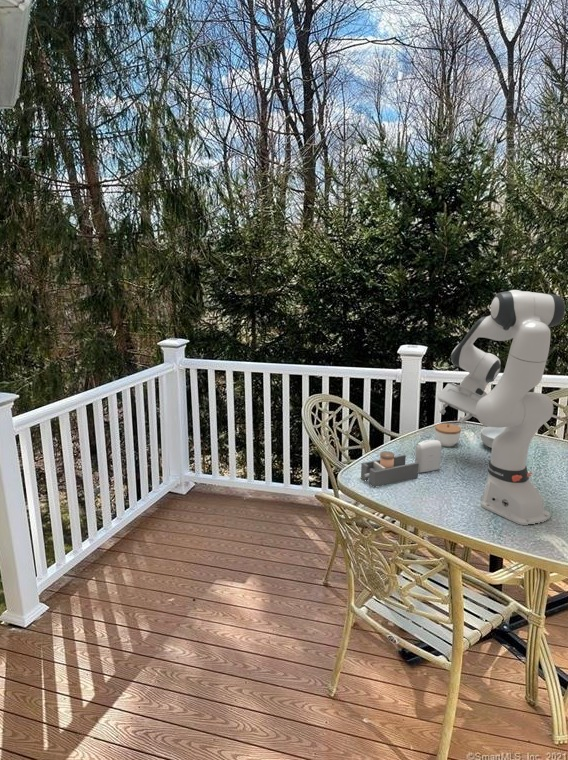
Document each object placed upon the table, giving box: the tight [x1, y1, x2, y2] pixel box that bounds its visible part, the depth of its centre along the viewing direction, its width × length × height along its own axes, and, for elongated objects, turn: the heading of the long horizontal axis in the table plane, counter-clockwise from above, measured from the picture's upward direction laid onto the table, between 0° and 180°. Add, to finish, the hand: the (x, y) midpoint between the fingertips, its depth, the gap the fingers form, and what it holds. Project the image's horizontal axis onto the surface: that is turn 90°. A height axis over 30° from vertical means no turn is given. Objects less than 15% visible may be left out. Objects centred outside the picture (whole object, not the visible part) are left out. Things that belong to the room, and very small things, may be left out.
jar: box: [379, 450, 395, 469], centre depth 200 cm, size 5×5×10 cm
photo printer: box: [414, 439, 442, 474], centre depth 208 cm, size 10×4×12 cm, turn 109°
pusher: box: [365, 461, 386, 478], centre depth 199 cm, size 6×6×6 cm
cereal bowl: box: [480, 426, 506, 449], centre depth 230 cm, size 17×17×7 cm
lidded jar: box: [434, 423, 462, 448], centre depth 234 cm, size 11×11×9 cm
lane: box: [360, 454, 419, 488], centre depth 202 cm, size 9×20×6 cm, turn 114°
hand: (450, 417), depth 210 cm, fingers open, 8 cm apart
